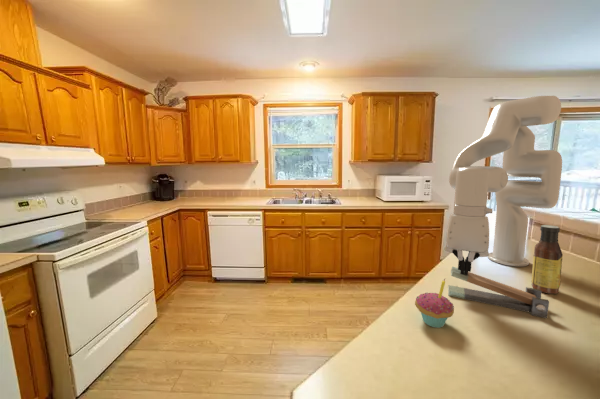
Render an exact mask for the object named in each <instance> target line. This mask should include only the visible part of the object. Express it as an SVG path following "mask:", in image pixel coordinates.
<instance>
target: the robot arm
mask: <svg viewBox="0 0 600 399" xmlns="http://www.w3.org/2000/svg"><path fill="white" fill-rule="evenodd" d="M561 111H562V102H561V100H560V98H559V97H558V96H556V95H537V96H532V97H531V96H530V97H525V98H518V99H511V100H507V101H504V102H503V101H502V102H500V103H498V104H497V105H496V106H494V108H493V109H492V110H491V112H490V115H489V118H488V120H487V122H486V125H485V127H484V130H483V132H482V135H481V137H480V138H479V139H477V140H476V141H474V142H472V143H471V144H470V145H468V146H467V147H465V148H464V149H462V151H460V153H459V154H458V155H457V156H456V158H455V160H454V162H453V165H452V167H451V170H450V173H449V178H448V181H449V185H450V186H451V188H452V189H453V190H455V191H454V204H453V213H450V214H449V218H448V221H447V228H446V236H445V241H446V242H445V245H444V251H446V252H448V253H451V254H453V255H454V256H455V257H456V258H457V259H458V264H457V265H458V266H457V268H458V270H460V271H461V274H464V273H465V275H468V272H470V273H472V272H471V271H472V262H474V261H475V260H477V259H478V258H485V257H486V258H488V259H489V260H490V261H491V262H494V263H497V264H501V265H504V266H508V267H509V266H510V267H517V268H519V267H527V266H529V265H530V260H529V259H527V258H526V257H525V253H526V244H527V234H528V226H529V217H528V214H527V213H526V212H525V210H524V209H523V207H525V208H534V209H535V208H536V209H552V208H554V207H555V206H556V205H557V204H558V201H559V197H560V196H559V195H560V189H561V181H562V180H561V179H562V170H563V169H562V168H563V158H562V155H561V153H560V152H559V151H557V150H554V149H553V150H552V149H544V150H543V149H541V150H538V149H537V150H536V149H535V140H536V135H535V134H534V132H533V131H532V130H531V129H530V128H529V127H531V126H532V127H533V126H539V125H540V126H541V125H549V124H552V123H554V122H555V121H557V119H558V118H559V117H560V115H561ZM501 153H503V154H502V155H503V156H502V167H499V166H494V165H493V166H492V165H491V166H489V165H487V166H486V165H485V166H483V165H482V166H480V165H479V166H477V165H474V164H475V163H477V162H478V161H481V160H483V159H487V158H489V157H492V156H495V155H498V154H501ZM472 165H474V166H472ZM509 177H514V178H515V177H516V178H538V179H540V181H538V180H537V181H535V180H515V179H514V180H513V179H511V180H509ZM488 193H494V194H495V200H496V201H495V203H496V204H495V205H496V214H495V215H496V216H495V226H494V236H493V237H494V238H493V246H492V247H493V249H492V252H489V248H490V223H489V216H488V215H487V214H493V208H491V207H488V206H487V201H488ZM463 251H464V252H467V256H466V257H464V255H463Z"/></svg>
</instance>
